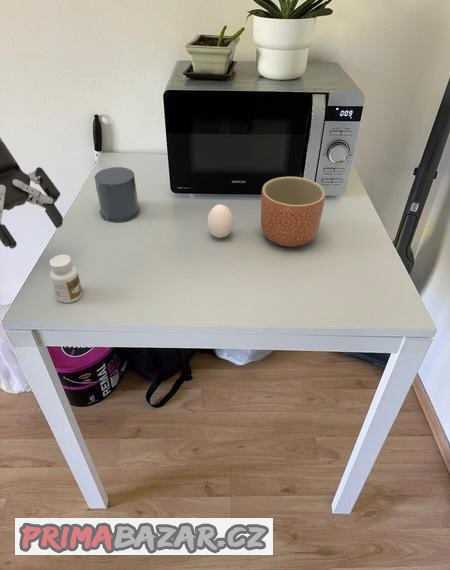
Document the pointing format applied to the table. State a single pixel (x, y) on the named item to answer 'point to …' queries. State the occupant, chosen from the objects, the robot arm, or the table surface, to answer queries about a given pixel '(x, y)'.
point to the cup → (117, 194)
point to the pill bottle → (65, 279)
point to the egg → (220, 221)
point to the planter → (291, 210)
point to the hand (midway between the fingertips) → (37, 236)
